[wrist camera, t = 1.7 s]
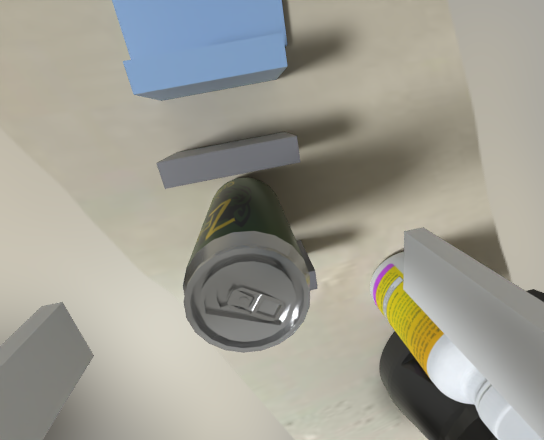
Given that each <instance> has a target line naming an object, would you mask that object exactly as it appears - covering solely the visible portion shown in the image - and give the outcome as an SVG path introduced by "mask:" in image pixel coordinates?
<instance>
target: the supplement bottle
mask: <svg viewBox="0 0 544 440" xmlns="http://www.w3.org/2000/svg"><path fill="white" fill-rule="evenodd" d="M403 281H404V252H401V253H398V254H395V255H393V256H391V257H389V258H388V259H386V260H385V261H383V262H382V263H381V264H380V265H379V266H378V268H377V269H376V270H375V272H374V274H373V276H372V279H371V283H370V292H371V296H372V299H373V301H374V302H375V304H376V305H377V307H378V308H379V309H380V311H381V312H382V314H383V315H384V316H385V318H386V319H387V321H388V322H389V323H390V325H391V326H392V327H393V329H394V330H395V331H396V333H397V334H398V336H399V337H400V338H401V340H402V341H403V342H404V344H405V345H406V346H407V348H408V349H409V351H410V352H411V353H412V355H413V356H414V357H415V359H416V360H417V361H418V363H419V364H420V366H421V367H422V368H423V370H424V371H425V372H426V374H427V375H428V377H429V378H430V379H431V381H432V382H433V383H434V384H435V386H436V387H437V388H438V389H439V390H440V391H441V392H442V393H443V394H445V395H446V396H448V397H449V398H451V399H453V400H455V401H458V402H461V403H466V404H474V405H475V406H476V410H477V411H478V414H479V417H480V418H481V420H482V421H483V422H484V424H485V425H486V426H487V427H488V428H489V430H490V431H491V432H492V433H493V435H494V436H495V437H496V438H497V439H498V440H542V439H541V438H540V437H539V436H538V434H537V433H536V432H535V431H534V430H533V429H532V428H531V427H530V426H529V425H528V424H527V423H526V421H525V420H524V419H523V418H522V417H521V416H520V415H519V414H518V413H517V412H516V411H515V410H514V408H513V407H512V406H511V405H510V404H509V403H508V402H507V401H506V400H505V399H504V398H503V397H502V396H501V394H500V393H499V392H498V391H497V390H496V389H495V388H494V387H493V386H492V385H491V384H490V383H489V381H488V380H487V379H486V378H485V377H484V376H483V375H482V374H481V373H480V372H479V371H478V370H477V368H476V367H475V366H474V365H473V364H472V363H471V362H470V361H469V360H468V359H467V358H466V357H465V355H464V354H463V353H462V352H461V351H460V350H459V349H458V348H457V347H456V346H455V345H454V344H453V343H452V341H451V340H450V339H449V338H448V337H447V336H446V335H445V334H444V333H443V332H442V331H441V330H440V328H439V327H438V326H437V325H436V324H435V323H434V322H433V321H432V320H431V319H430V318H429V317H428V315H427V314H426V313H425V312H424V311H423V310H422V309H421V308H420V307H419V306H418V305H417V304H416V303H415V301H414V300H413V299H412V298H411V297H410V296H409V295H408V294H407V293H406V292H405V291H404V290H403Z"/></svg>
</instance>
